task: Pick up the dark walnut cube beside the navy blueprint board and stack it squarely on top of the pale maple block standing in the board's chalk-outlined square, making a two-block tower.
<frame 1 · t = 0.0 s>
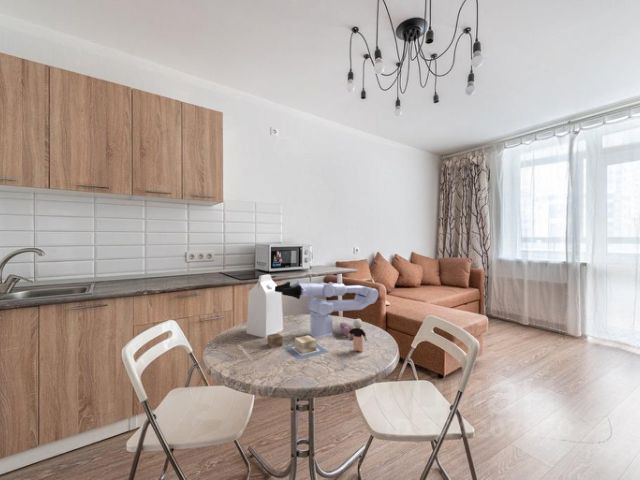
hand: (278, 290, 118), 22 cm above the table, tool horizontal, fingers open, 7 cm apart
grandmother figurine: (357, 352, 110), on the table
walnut cube: (274, 347, 115), on the table
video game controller: (347, 336, 127), on the table
blueprint board: (305, 350, 111), on the table
maple block: (305, 349, 111), point 1 cm above the table, touching blueprint board
milk: (265, 332, 133), on the table
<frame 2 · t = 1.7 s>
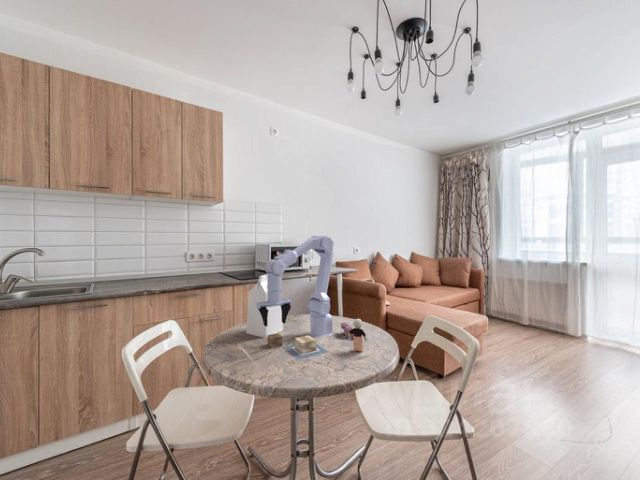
hand: (274, 324, 115), 9 cm above the table, tool pointing down, fingers open, 7 cm apart
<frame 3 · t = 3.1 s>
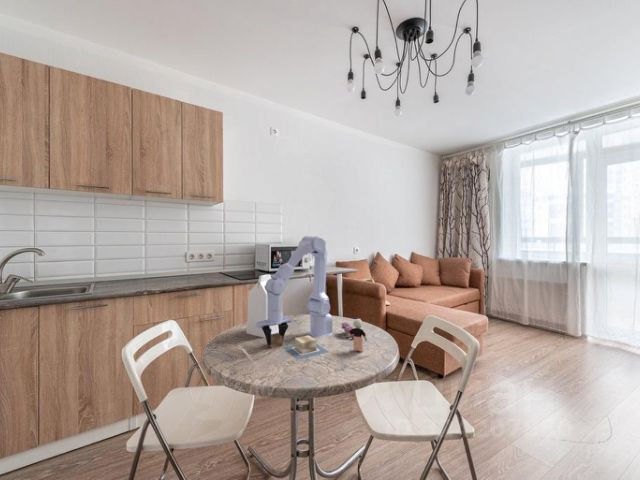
hand: (274, 343, 115), 1 cm above the table, tool pointing down, fingers closed on walnut cube, 4 cm apart
walnut cube: (274, 346, 115), on the table, touching gripper
when the fingers open (7 cm above the table, at t = 5.9 s): walnut cube drops 1 cm, resting on maple block.
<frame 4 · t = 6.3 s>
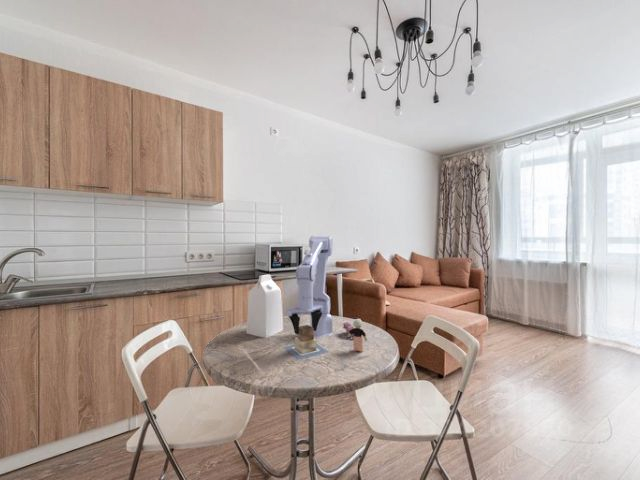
hand: (305, 331, 111), 7 cm above the table, tool pointing down, fingers open, 7 cm apart
walnut cube: (305, 339, 111), point 5 cm above the table, touching maple block
maple block: (305, 349, 111), point 1 cm above the table, touching blueprint board, walnut cube
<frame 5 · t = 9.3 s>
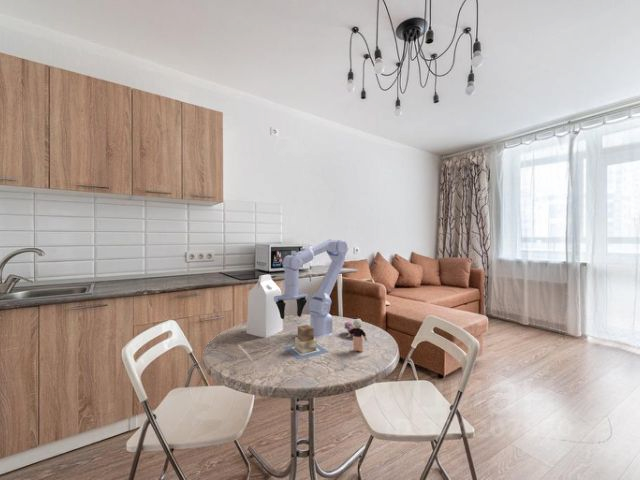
hand: (290, 317, 119), 10 cm above the table, tool pointing down, fingers open, 7 cm apart
at the end: walnut cube 0.0 cm off-centre on the maple block, point 4.0 cm above the maple block's base; walnut cube tilted 0°; maple block moved 0.0 cm from its start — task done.
